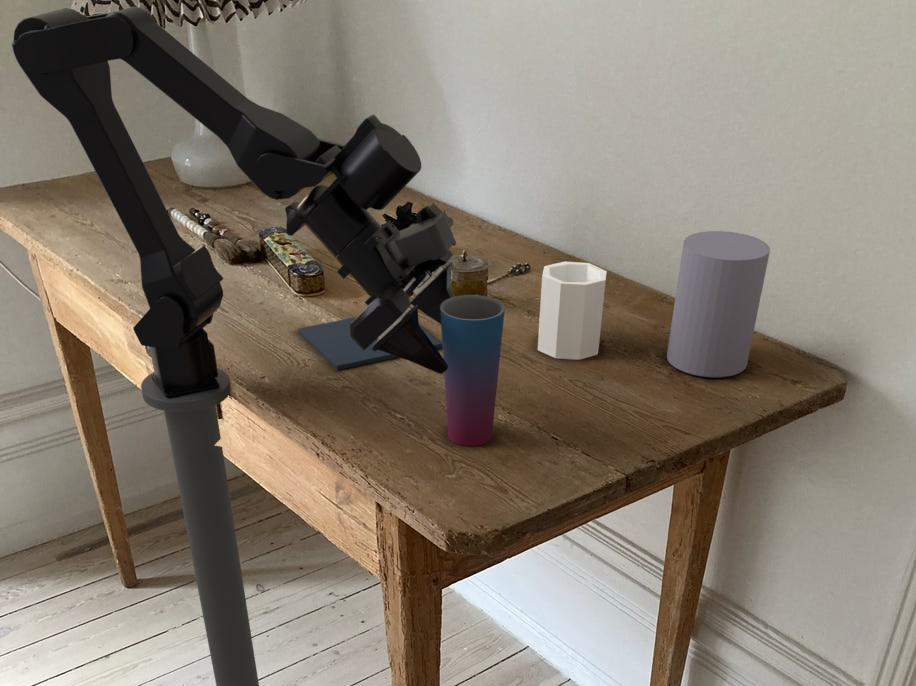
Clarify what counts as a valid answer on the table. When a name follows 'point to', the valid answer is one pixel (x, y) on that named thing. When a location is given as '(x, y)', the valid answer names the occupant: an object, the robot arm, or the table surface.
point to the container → (716, 303)
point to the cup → (471, 365)
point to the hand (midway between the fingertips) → (457, 353)
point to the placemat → (345, 344)
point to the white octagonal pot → (571, 310)
